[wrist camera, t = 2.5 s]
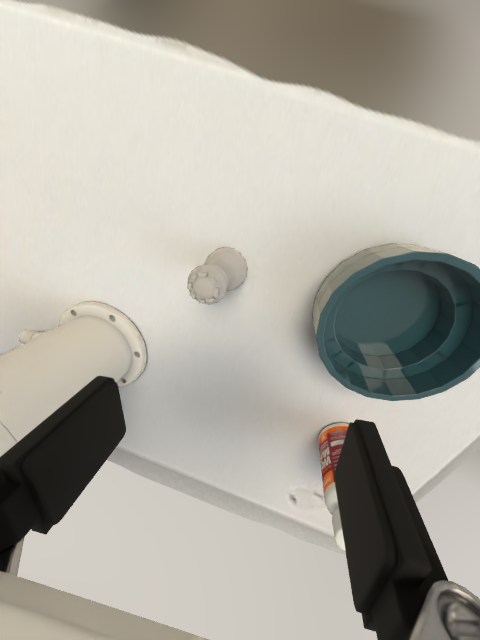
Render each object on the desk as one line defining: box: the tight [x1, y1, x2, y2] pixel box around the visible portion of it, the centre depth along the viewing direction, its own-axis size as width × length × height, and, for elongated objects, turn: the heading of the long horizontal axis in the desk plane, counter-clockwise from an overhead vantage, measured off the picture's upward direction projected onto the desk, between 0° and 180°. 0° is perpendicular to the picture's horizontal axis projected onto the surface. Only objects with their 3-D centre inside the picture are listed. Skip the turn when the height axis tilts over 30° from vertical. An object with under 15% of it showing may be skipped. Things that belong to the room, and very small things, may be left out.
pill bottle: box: [319, 423, 349, 552], centre depth 27 cm, size 6×6×11 cm
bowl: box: [313, 244, 480, 401], centre depth 23 cm, size 13×13×6 cm
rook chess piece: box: [187, 247, 248, 304], centre depth 23 cm, size 4×4×8 cm
